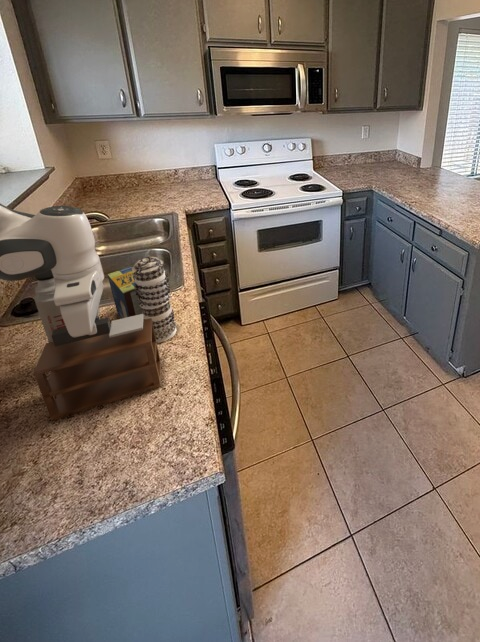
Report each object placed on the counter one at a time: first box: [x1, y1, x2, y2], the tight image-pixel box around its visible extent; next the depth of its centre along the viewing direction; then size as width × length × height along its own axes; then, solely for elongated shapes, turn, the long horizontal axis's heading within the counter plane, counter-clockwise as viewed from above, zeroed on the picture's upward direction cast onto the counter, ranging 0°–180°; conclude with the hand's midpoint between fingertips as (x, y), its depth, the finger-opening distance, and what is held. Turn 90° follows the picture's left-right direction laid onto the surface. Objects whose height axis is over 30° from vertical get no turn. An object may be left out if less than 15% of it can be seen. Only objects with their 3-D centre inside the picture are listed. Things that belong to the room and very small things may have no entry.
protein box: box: [107, 265, 143, 319], centre depth 114 cm, size 10×15×16 cm
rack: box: [33, 318, 162, 421], centre depth 87 cm, size 23×10×14 cm, turn 114°
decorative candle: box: [132, 256, 177, 344], centre depth 105 cm, size 9×9×25 cm
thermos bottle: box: [33, 270, 66, 343], centre depth 93 cm, size 8×8×28 cm
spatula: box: [52, 314, 144, 347], centre depth 84 cm, size 18×6×3 cm, turn 114°
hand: (94, 327), depth 84 cm, fingers closed on spatula, 2 cm apart
